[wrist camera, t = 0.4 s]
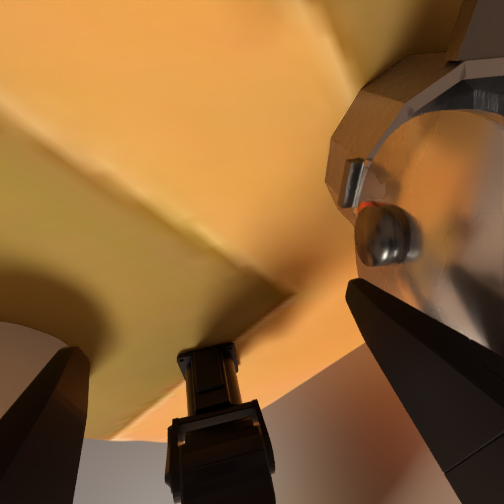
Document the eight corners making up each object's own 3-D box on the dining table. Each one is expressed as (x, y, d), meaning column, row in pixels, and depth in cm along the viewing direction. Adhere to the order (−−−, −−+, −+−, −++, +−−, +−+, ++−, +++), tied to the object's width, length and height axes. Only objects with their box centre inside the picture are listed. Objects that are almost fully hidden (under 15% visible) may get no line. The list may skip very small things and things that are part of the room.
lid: (350, 255, 20) (323, 257, 20) (395, 80, 13) (353, 83, 13) (453, 446, 11) (404, 451, 11) (798, 211, 4) (661, 222, 4)
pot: (427, 227, 27) (462, 253, 24) (307, 251, 25) (327, 283, 22) (533, -5, 16) (623, -12, 13) (336, 5, 14) (385, -2, 11)
